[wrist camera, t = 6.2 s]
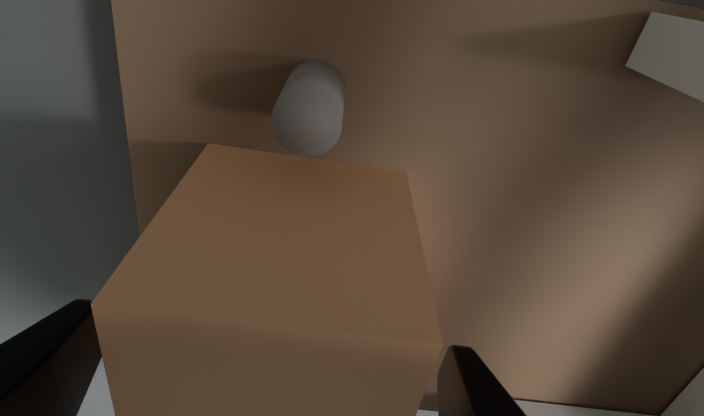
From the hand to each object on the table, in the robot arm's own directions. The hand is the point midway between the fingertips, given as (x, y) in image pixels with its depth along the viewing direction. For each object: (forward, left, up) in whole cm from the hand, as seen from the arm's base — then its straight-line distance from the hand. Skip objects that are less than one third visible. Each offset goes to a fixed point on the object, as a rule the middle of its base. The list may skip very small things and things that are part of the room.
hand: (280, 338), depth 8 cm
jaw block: (0, 0, -3) cm, 3 cm away
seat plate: (-6, 0, -4) cm, 7 cm away
